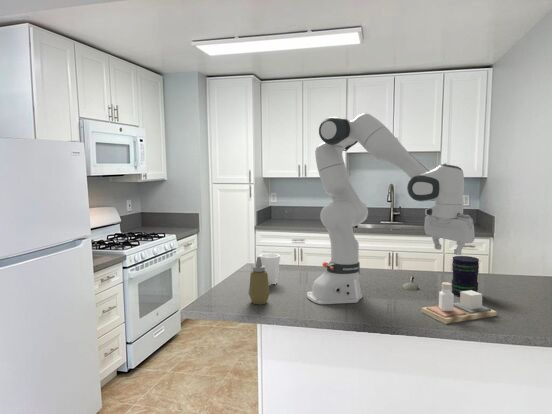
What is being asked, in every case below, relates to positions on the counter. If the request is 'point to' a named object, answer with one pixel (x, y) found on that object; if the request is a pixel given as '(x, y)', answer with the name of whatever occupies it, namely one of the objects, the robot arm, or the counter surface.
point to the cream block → (471, 299)
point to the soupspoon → (410, 285)
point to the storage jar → (464, 274)
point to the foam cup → (271, 266)
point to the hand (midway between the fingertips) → (447, 251)
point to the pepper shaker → (446, 297)
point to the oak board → (458, 313)
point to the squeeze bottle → (259, 284)
